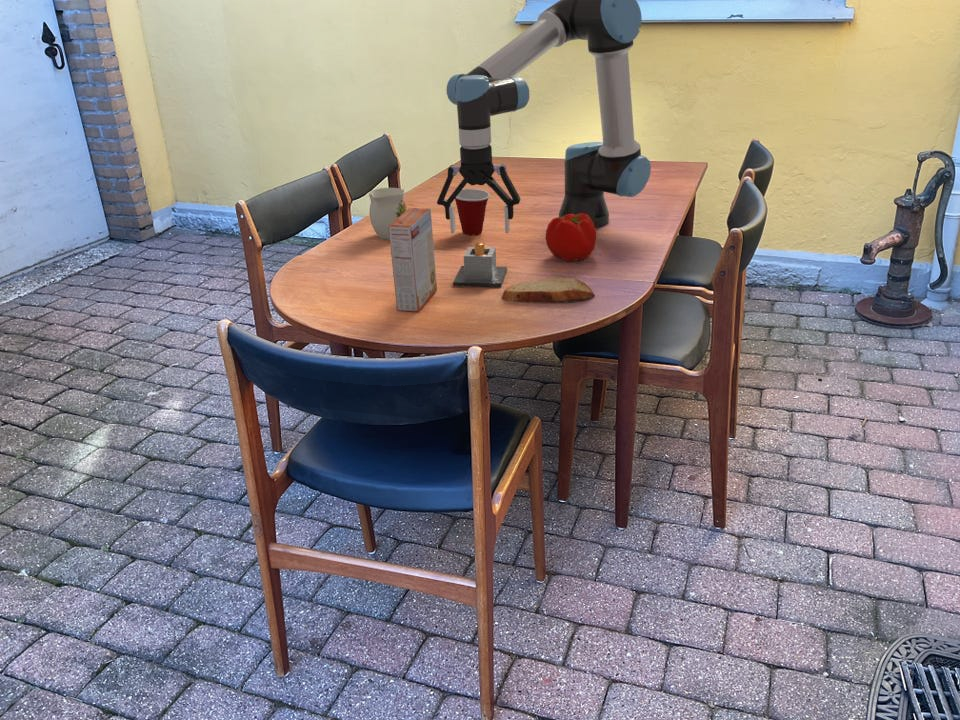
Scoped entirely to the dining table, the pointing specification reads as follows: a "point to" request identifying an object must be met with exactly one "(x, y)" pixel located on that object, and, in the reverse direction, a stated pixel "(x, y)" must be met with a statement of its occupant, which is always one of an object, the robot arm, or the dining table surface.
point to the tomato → (571, 236)
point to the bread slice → (549, 291)
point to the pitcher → (386, 209)
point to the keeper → (494, 282)
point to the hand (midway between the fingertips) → (480, 231)
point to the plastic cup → (472, 210)
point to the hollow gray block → (480, 264)
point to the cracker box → (413, 259)
